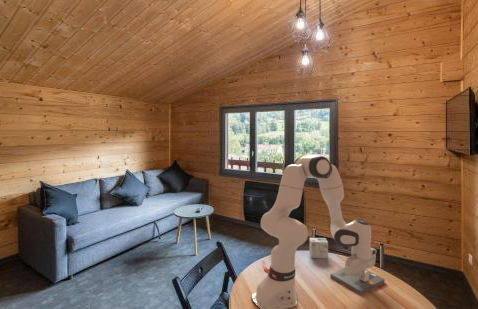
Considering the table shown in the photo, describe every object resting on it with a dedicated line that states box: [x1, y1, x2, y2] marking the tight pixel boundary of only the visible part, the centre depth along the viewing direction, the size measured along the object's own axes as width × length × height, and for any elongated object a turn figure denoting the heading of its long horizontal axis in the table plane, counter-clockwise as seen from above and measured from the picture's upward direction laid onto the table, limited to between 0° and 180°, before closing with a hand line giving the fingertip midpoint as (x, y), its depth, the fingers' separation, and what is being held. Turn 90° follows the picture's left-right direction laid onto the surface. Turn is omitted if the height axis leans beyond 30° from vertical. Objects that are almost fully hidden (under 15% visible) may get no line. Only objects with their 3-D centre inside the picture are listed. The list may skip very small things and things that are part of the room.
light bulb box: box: [308, 237, 329, 259], centre depth 161 cm, size 11×7×11 cm, turn 84°
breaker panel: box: [329, 267, 386, 296], centre depth 135 cm, size 20×18×2 cm
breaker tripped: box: [360, 269, 369, 282], centre depth 131 cm, size 3×4×4 cm
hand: (360, 277), depth 129 cm, fingers closed
